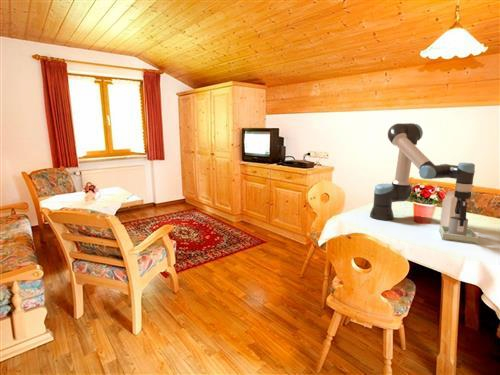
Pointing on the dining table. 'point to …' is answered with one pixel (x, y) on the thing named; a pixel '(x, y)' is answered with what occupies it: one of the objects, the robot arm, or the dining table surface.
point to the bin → (469, 237)
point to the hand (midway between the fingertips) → (458, 228)
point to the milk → (448, 208)
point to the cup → (454, 226)
